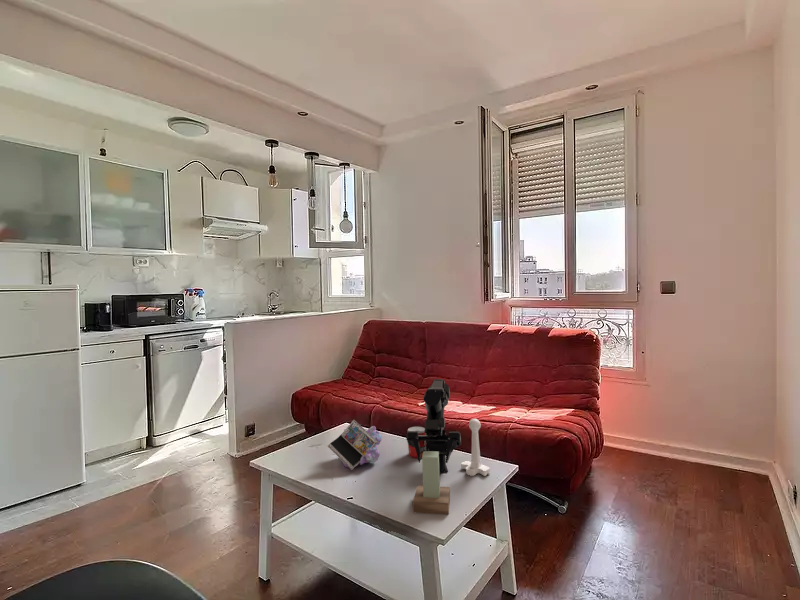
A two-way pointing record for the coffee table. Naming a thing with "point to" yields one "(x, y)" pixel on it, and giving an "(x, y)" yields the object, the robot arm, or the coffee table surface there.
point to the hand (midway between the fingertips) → (432, 462)
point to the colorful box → (357, 445)
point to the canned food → (422, 443)
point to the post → (431, 474)
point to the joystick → (475, 453)
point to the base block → (432, 502)
